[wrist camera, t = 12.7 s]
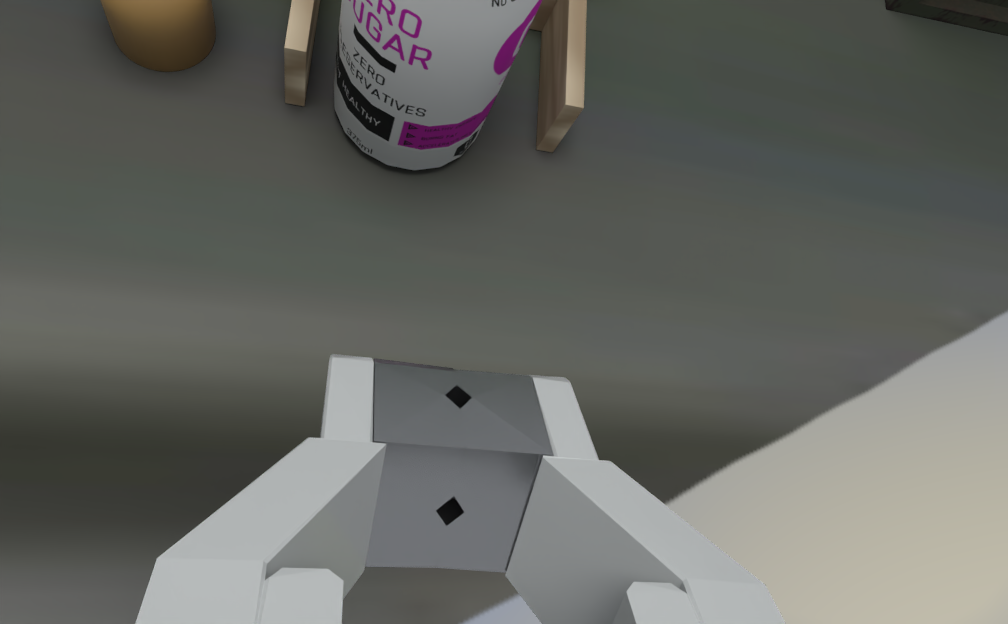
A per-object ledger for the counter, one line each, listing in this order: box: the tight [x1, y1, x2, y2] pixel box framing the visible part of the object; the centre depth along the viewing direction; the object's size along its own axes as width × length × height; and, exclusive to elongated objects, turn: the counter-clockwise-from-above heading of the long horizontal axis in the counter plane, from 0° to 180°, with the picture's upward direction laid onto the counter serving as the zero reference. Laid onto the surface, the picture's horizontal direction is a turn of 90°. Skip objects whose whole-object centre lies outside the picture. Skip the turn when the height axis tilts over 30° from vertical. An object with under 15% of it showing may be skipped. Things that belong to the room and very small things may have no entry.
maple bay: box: [284, 0, 587, 153], centre depth 41 cm, size 15×10×5 cm, turn 87°
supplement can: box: [334, 0, 542, 170], centre depth 35 cm, size 8×8×15 cm
